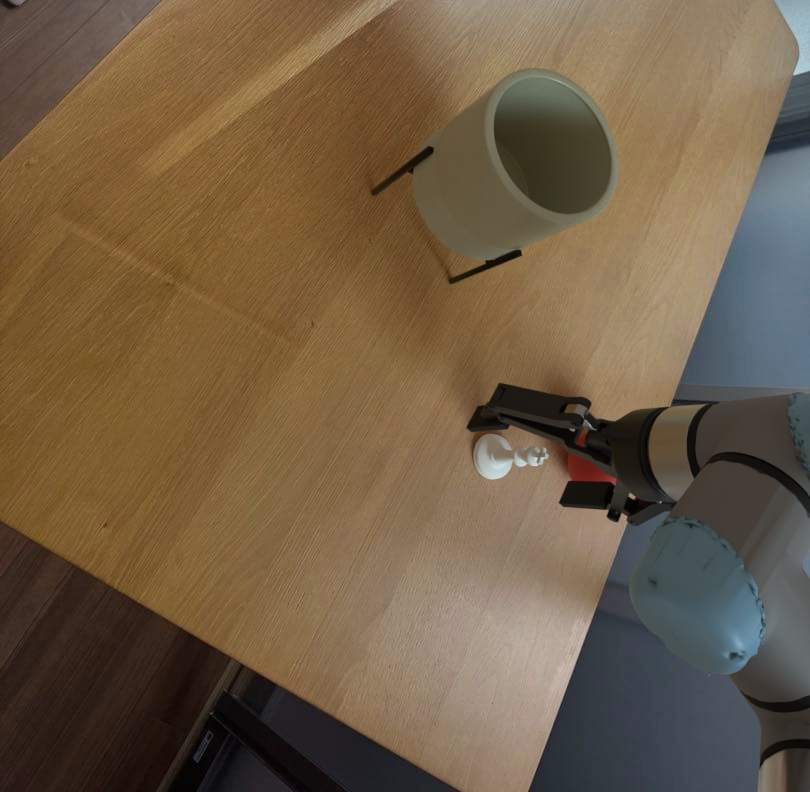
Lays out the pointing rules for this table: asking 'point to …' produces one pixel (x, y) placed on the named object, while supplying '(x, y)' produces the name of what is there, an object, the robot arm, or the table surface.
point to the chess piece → (503, 456)
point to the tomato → (586, 468)
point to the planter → (514, 168)
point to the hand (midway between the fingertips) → (520, 457)
